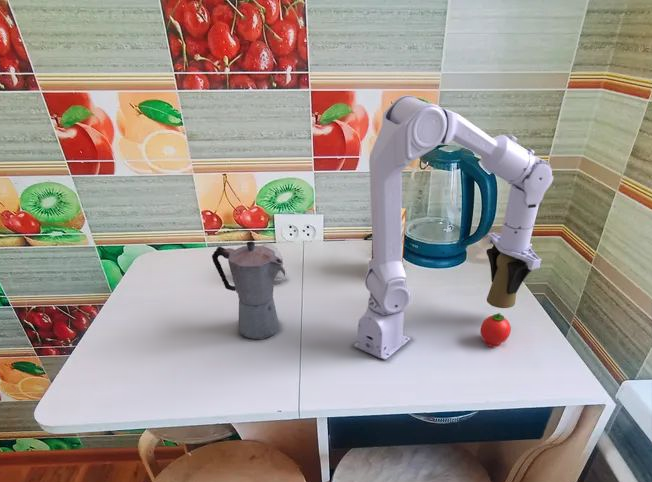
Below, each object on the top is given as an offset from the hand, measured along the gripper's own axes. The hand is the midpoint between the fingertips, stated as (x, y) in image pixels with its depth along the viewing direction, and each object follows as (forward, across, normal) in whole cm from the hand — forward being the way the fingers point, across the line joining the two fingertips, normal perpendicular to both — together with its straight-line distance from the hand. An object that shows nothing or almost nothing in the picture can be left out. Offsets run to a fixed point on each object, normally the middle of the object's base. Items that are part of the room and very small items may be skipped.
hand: (504, 287), depth 98 cm
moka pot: (+9, +17, +50) cm, 54 cm away
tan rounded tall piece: (+4, 0, 0) cm, 4 cm away
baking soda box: (+9, +31, +12) cm, 35 cm away
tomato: (+8, -6, +6) cm, 12 cm away
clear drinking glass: (+9, +41, +42) cm, 59 cm away
